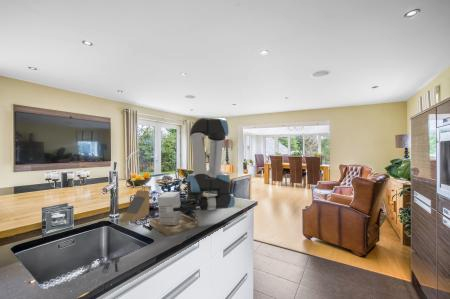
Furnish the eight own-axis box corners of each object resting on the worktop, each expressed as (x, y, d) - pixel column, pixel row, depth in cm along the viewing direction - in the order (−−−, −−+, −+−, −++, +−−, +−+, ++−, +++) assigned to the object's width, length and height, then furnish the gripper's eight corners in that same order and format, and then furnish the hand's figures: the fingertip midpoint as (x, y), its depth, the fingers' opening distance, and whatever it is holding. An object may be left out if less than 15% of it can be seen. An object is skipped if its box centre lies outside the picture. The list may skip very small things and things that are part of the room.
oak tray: (179, 217, 124) (179, 212, 124) (198, 226, 109) (198, 220, 109) (149, 225, 112) (149, 219, 112) (166, 236, 97) (166, 229, 97)
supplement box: (166, 217, 116) (164, 191, 115) (182, 217, 115) (180, 191, 113) (159, 225, 107) (156, 197, 106) (176, 225, 106) (173, 197, 105)
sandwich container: (119, 221, 120) (119, 195, 120) (137, 213, 135) (137, 190, 135) (132, 222, 118) (132, 195, 118) (149, 214, 133) (148, 190, 133)
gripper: (211, 216, 104) (166, 221, 98) (203, 204, 127) (166, 207, 121) (211, 201, 104) (166, 205, 98) (203, 192, 127) (166, 194, 121)
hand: (166, 206), depth 110 cm, fingers closed on supplement box, 11 cm apart
